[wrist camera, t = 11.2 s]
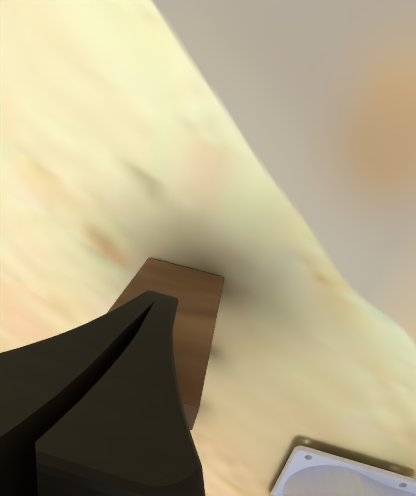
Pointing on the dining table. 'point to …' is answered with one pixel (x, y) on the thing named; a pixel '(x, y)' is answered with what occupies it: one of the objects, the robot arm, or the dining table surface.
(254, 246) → the dining table surface
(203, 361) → the brown wooden block
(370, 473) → the robot arm
